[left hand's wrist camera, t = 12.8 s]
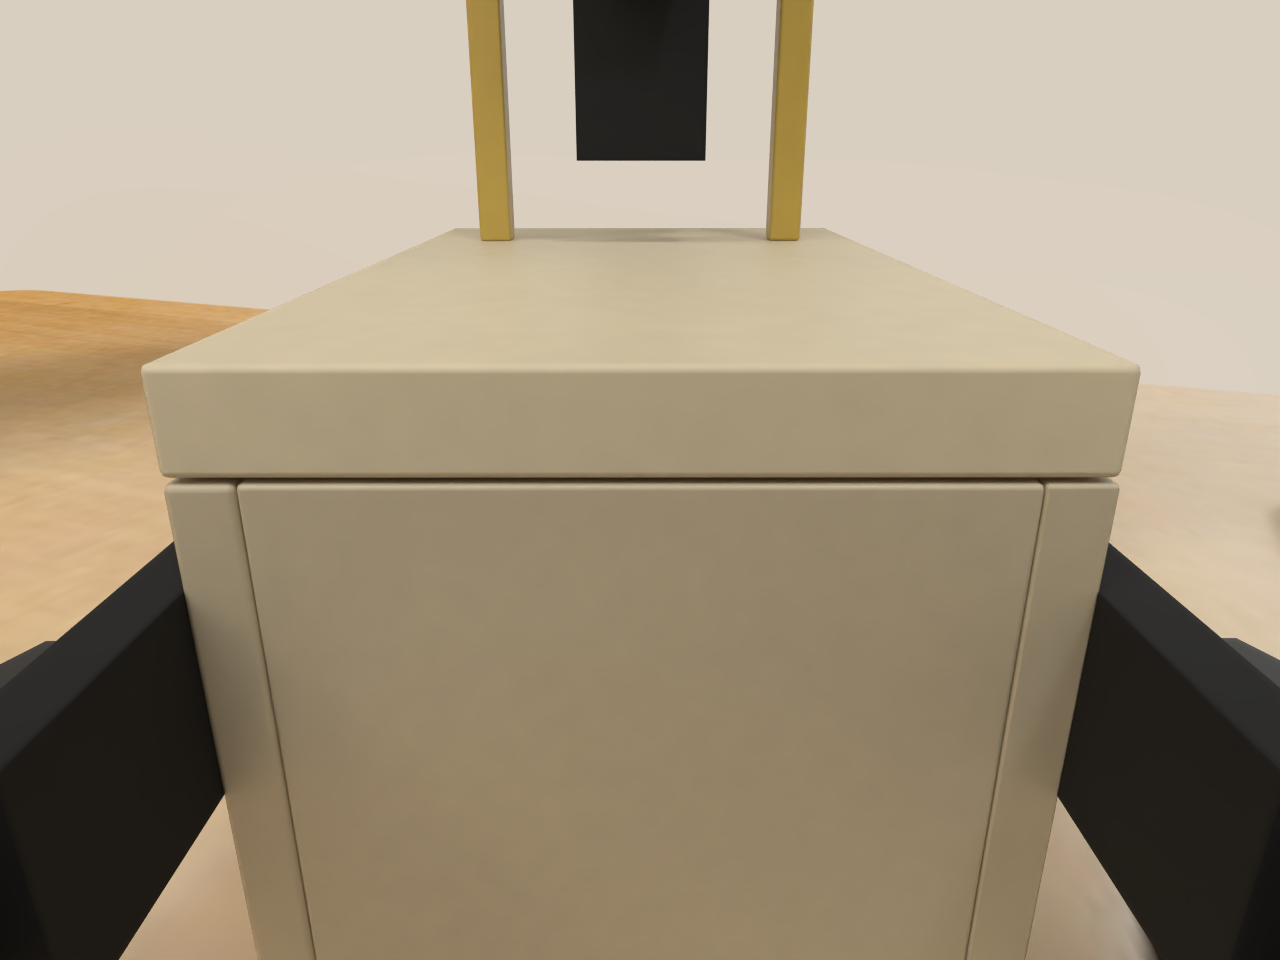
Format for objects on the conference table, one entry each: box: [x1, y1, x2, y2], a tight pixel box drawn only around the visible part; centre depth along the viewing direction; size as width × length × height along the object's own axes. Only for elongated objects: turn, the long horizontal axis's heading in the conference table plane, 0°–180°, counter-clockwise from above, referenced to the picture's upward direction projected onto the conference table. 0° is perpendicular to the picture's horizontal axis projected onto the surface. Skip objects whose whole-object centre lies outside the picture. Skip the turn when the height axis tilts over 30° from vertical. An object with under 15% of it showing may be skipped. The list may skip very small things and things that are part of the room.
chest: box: [164, 477, 1119, 960], centre depth 18 cm, size 15×10×9 cm, turn 0°
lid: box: [141, 0, 1140, 478], centre depth 15 cm, size 16×10×8 cm, turn 0°
